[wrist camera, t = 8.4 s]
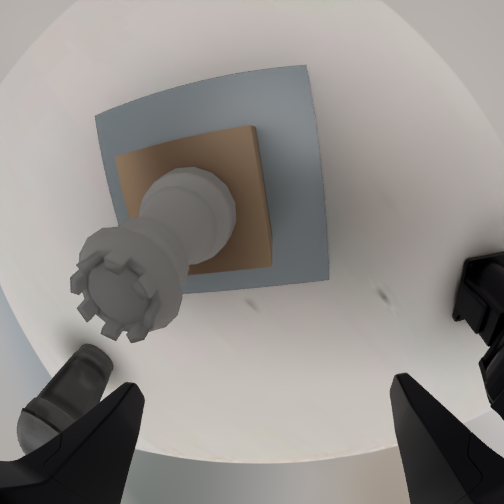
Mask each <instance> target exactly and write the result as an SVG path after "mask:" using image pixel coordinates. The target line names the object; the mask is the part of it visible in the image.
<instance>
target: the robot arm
mask: <svg viewBox="0 0 504 504" xmlns="http://www.w3.org/2000/svg"><path fill="white" fill-rule="evenodd" d="M469 264H470V265H469ZM452 318H453V319H454V321H456V322H457V321H461V320H464V319H465V320H466V322H467V323H468V324H469V326H470V327H471V328H472V330H473V331H474V332H475V333H476V334H479V335H480V336H481V338H482V339H483V340H484V342H485V343H486V345H487V346H488V347H489V346H490V348H489V349H488V351H487V352H486V354H485V355H484V357H482V358H481V360H480V361H479V367H480V370H481V374H482V377H483V381H484V385H485V390H486V393H487V397H488V400H489V403H490V404H491V408H492V409H493V410H495V411H496V412H497V413H498V414H499V415H500V416H501V417H502V419H503V420H504V252H502V253H497V254H491V255H486V256H481V257H475V258H470V259H467V260H466V262H465V264H464V269H463V274H462V279H461V284H460V288H459V293H458V297H457V301H456V305H455V309H454V313H453V317H452ZM390 399H391V405H392V412H393V419H394V427H395V433H396V438H397V442H398V446H399V449H400V454H401V458H402V463H403V467H404V472H405V477H406V482H407V486H408V492H409V498H410V503H411V504H504V458H503V457H502V456H500V455H499V454H497V453H496V452H495V451H493V450H492V449H490V448H489V447H488V446H487V445H486V444H484V443H483V442H482V441H481V440H480V439H479V438H478V437H477V436H476V435H474V434H473V433H472V432H471V431H470V430H469V429H468V428H467V427H466V426H465V425H463V424H462V423H461V422H460V421H459V420H458V419H457V418H456V417H455V416H454V415H453V414H452V413H451V412H449V411H448V410H447V409H446V408H445V407H444V406H443V405H442V404H441V403H440V402H439V401H438V400H436V399H435V398H434V397H433V396H432V395H431V394H430V393H429V392H428V391H427V390H425V389H424V388H423V387H422V386H421V385H420V384H419V383H418V382H417V381H416V380H414V379H413V378H412V377H411V376H410V375H409V374H408V373H400V374H396V375H395V376H394V379H393V382H392V385H391V388H390ZM144 403H145V398H144V395H143V394H142V392H141V391H140V389H139V387H138V386H137V384H135V383H131V382H125V383H123V384H122V385H121V386H120V387H118V388H117V389H116V390H115V391H113V392H112V393H111V394H110V395H108V396H107V397H106V398H104V399H103V400H102V401H101V402H99V403H98V404H97V405H96V406H94V407H93V408H92V409H90V410H89V411H88V412H87V413H85V414H84V415H83V416H81V417H80V418H79V419H77V420H76V421H75V422H74V423H72V424H71V425H70V426H68V427H67V428H66V429H64V430H63V431H62V432H60V433H59V434H58V435H56V436H55V437H54V438H52V439H51V440H50V441H48V442H47V443H45V444H44V445H42V446H40V447H39V448H37V449H35V450H34V451H32V452H30V453H29V454H27V455H25V456H23V457H22V458H20V459H18V460H15V461H0V504H120V503H121V499H122V495H123V491H124V487H125V483H126V479H127V475H128V471H129V467H130V464H131V460H132V457H133V453H134V450H135V446H136V443H137V439H138V435H139V431H140V425H141V419H142V414H143V408H144Z"/></svg>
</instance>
